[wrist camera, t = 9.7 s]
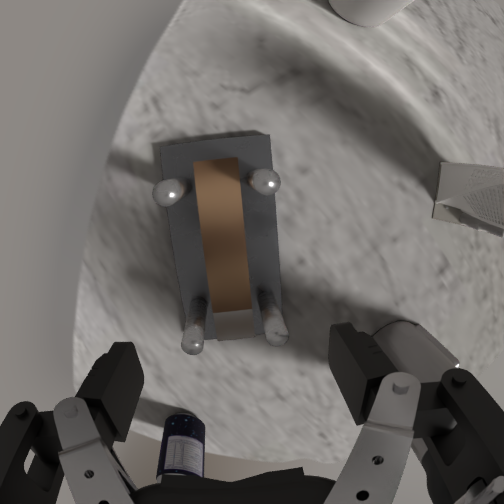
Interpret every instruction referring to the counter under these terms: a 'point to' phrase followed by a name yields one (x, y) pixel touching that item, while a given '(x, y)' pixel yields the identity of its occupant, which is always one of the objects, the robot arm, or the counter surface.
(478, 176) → the skyscraper
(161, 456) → the beverage can
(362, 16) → the milk bottle
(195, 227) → the peg rack
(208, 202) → the brown wooden bar
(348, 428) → the counter surface
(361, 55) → the counter surface
